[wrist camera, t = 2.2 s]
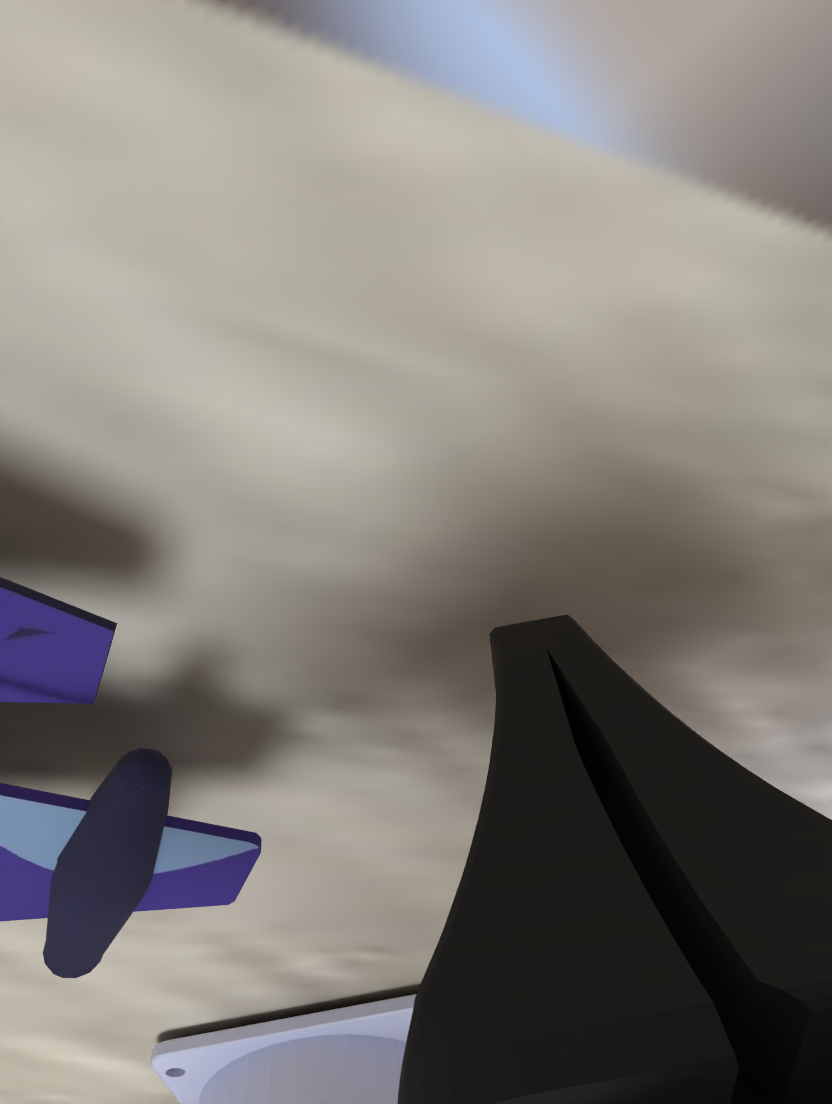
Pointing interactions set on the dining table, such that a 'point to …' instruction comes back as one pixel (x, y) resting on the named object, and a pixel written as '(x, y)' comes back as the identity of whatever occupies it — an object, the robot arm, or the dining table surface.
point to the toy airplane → (96, 807)
